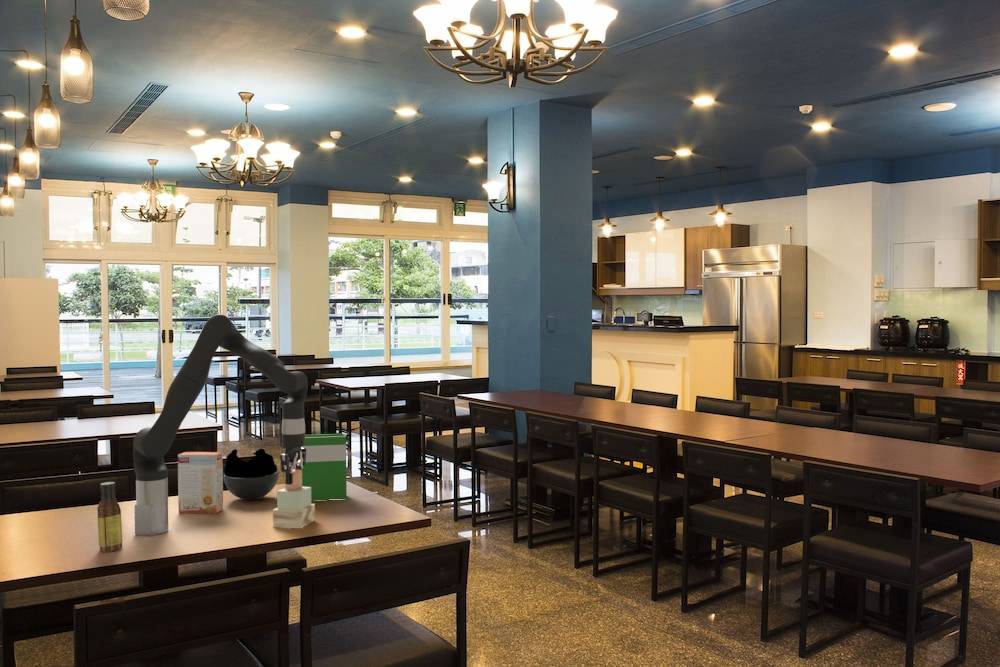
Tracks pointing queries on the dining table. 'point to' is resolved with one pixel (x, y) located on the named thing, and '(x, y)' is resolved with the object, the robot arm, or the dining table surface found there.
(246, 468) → the bowl of black rocks
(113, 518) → the sauce bottle
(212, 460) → the cracker box
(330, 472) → the hardback book
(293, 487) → the coral cylinder
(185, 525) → the dining table surface
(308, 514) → the birch base block
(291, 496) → the sage block
